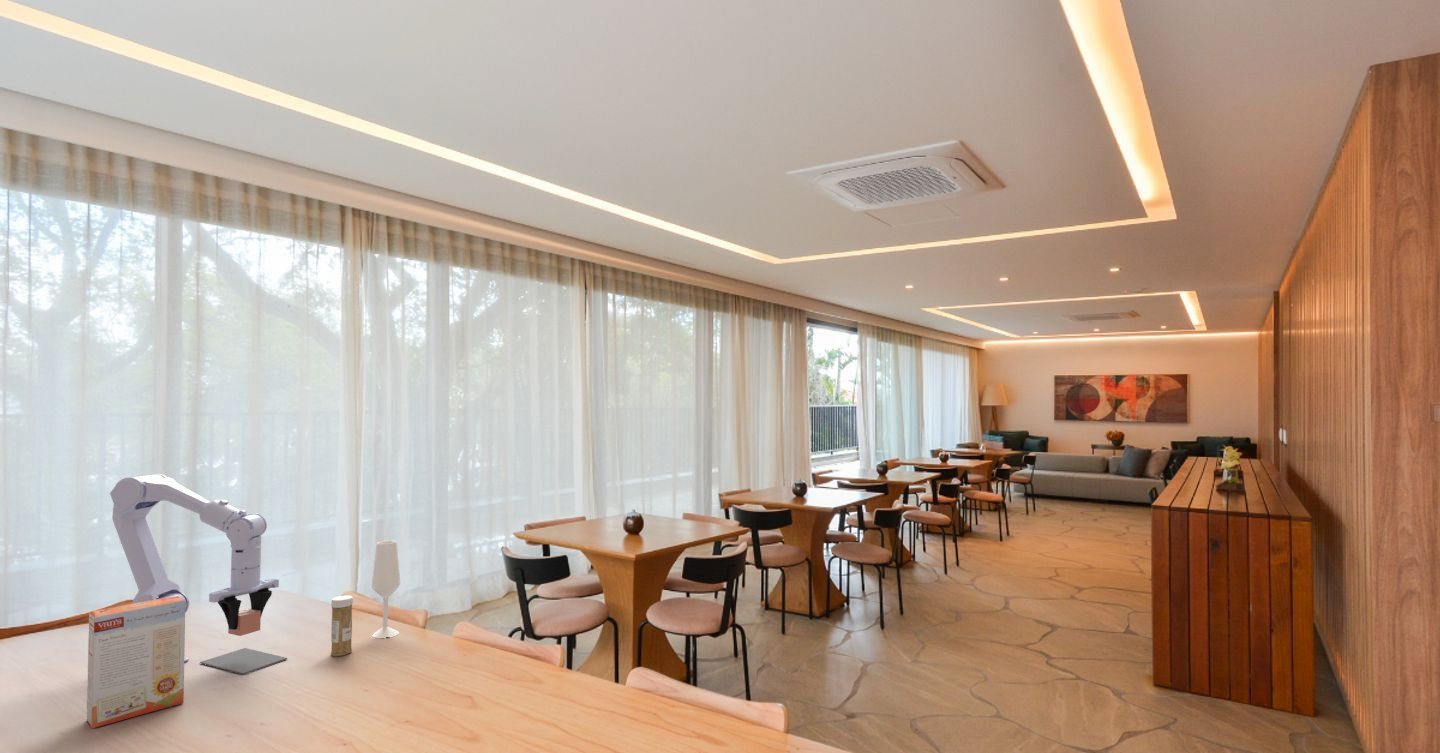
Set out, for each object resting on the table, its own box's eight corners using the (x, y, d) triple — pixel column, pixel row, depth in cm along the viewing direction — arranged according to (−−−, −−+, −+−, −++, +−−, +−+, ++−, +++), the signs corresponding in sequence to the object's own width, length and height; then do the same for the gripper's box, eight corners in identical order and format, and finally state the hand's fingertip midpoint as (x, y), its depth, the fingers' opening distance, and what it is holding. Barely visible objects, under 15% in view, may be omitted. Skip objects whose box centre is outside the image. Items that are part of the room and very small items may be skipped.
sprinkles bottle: (352, 654, 164) (353, 598, 165) (331, 658, 162) (332, 601, 162) (350, 648, 168) (352, 593, 169) (329, 652, 166) (330, 596, 166)
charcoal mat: (199, 663, 158) (200, 661, 159) (244, 649, 168) (245, 647, 168) (242, 674, 152) (242, 673, 152) (287, 659, 161) (287, 657, 161)
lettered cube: (228, 633, 159) (228, 613, 159) (248, 627, 163) (248, 607, 163) (240, 636, 157) (240, 615, 157) (260, 630, 161) (260, 610, 161)
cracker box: (176, 696, 141) (179, 593, 142) (184, 704, 137) (187, 599, 138) (84, 720, 130) (88, 609, 131) (90, 730, 126) (94, 615, 127)
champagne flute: (364, 637, 176) (366, 543, 177) (384, 629, 183) (386, 538, 184) (385, 639, 174) (387, 545, 175) (405, 631, 181) (406, 540, 182)
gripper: (223, 575, 152) (221, 637, 152) (287, 562, 165) (286, 618, 165) (204, 572, 155) (202, 633, 155) (268, 559, 168) (267, 615, 168)
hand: (244, 625), depth 160 cm, fingers closed on lettered cube, 4 cm apart
